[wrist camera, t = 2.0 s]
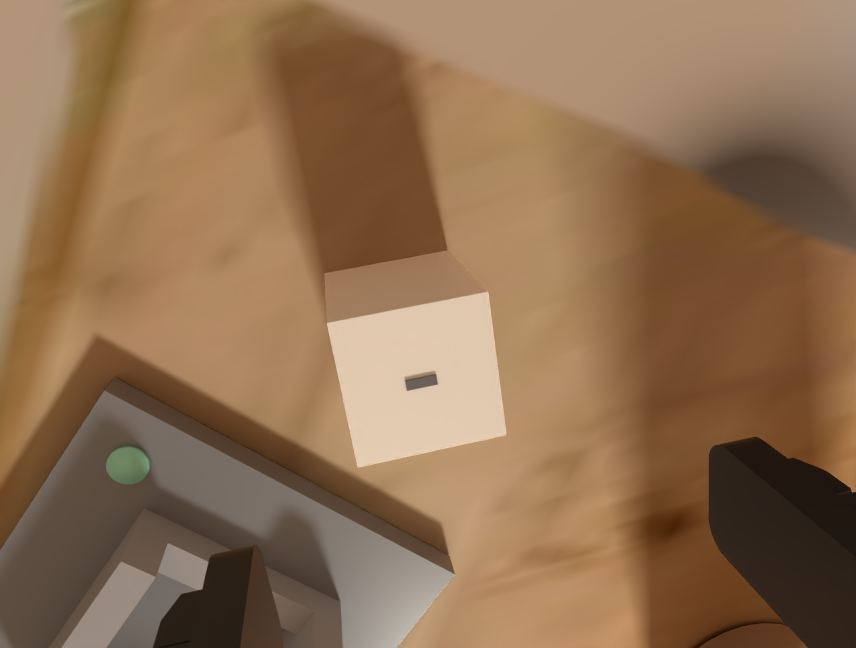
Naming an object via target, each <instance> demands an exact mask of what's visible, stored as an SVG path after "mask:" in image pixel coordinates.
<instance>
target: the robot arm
mask: <svg viewBox="0 0 856 648" xmlns="http://www.w3.org/2000/svg"><path fill="white" fill-rule="evenodd" d="M709 524H710V529H711V532H712V535H713V538H714V540H715V542H716V545H717V546H718V548H719V550H720V551H721V553H722V554H723V555H724V556H725V557H726V559H727V560H728V561H729V562H730V563H731V564H732V565H733V566H734V567H735V568H736V570H737V571H738V572H739V573H740V574H741V575H742V576H743V577H744V578H745V579H746V581H747V582H748V583H749V584H750V585H751V586H752V587H753V588H754V589H755V590H756V592H757V593H758V594H759V595H760V596H761V597H762V598H763V599H764V600H765V601H766V602H767V604H768V605H769V606H770V607H771V608H772V609H773V610H774V611H775V612H776V613H777V615H778V616H779V617H780V618H781V619H782V620H783V621H784V622H785V623H786V624H787V626H786V625H782V624H770V623H760V624H754V625H747V626H742V627H739V628H736V629H733V630H730V631H727V632H724V633H722V634H720V635H719V636H717V637H715V638H713V639H711V640H709V641H707V642H706V643H704V644H703V645H701V646H700V647H699V648H856V492H853V493H852V491H851V488H849V487H848V486H846V485H845V484H844V483H842V482H841V481H839V480H838V479H837V478H835V477H834V476H832V475H831V474H830V473H828V472H827V471H825V470H823V469H820V468H818V467H815V466H813V465H810V464H808V463H805V462H803V461H800V460H798V459H795V458H791V459H787V458H786V457H785V456H783V455H782V454H781V453H779V452H778V451H777V450H775V449H774V448H773V447H771V446H770V445H769V444H767V443H766V442H765V441H763V440H762V439H760V438H757V437H752V438H747V439H743V440H738V441H733V442H729V443H724V444H720V445H715V446H713V447H712V449H711V451H710V454H709ZM153 648H283V639H282V631H281V625H280V620H279V615H278V612H277V608H276V604H275V601H274V597H273V593H272V590H271V586H270V582H269V579H268V575H267V571H266V568H265V564H264V560H263V557H262V553H261V551H260V548H259V547H258V545H253V546H249V547H244V548H239V549H235V550H230V551H226V552H221V553H217V554H212V555H211V556H210V558H209V562H208V566H207V570H206V575H205V579H204V583H203V588H202V589H201V590H197V591H192V592H188V593H183V594H181V595H180V596H179V597H178V599H177V600H176V601H175V603H174V604H173V605H172V607H171V608H170V609H169V611H168V612H167V613H166V615H165V616H164V617H163V618H162V620H161V622H160V625H159V628H158V632H157V635H156V638H155V642H154V645H153Z"/></svg>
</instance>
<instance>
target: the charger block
mask: <svg viewBox="0 0 856 648" xmlns="http://www.w3.org/2000/svg"><path fill="white" fill-rule="evenodd" d="M324 280H325V298H326V316H327V326H328V331H329V335H330V340H331V345H332V349H333V354H334V359H335V364H336V368H337V373H338V378H339V382H340V387H341V392H342V396H343V401H344V406H345V410H346V415H347V420H348V425H349V429H350V434H351V439H352V443H353V448H354V453H355V457H356V462H357V467H363V466H367V465H372V464H377V463H381V462H386V461H390V460H395V459H399V458H404V457H409V456H413V455H418V454H422V453H427V452H431V451H436V450H441V449H445V448H450V447H454V446H459V445H463V444H468V443H473V442H477V441H482V440H486V439H491V438H495V437H500V436H505V435H506V427H505V420H504V412H503V404H502V396H501V388H500V381H499V373H498V365H497V357H496V349H495V341H494V334H493V326H492V318H491V310H490V302H489V294H488V291H487V290H486V289H485V288H484V287H483V286H482V285H481V284H480V283H479V282H478V281H477V280H476V279H475V278H474V277H473V276H472V275H471V274H470V273H469V272H468V271H467V270H466V269H465V268H464V267H463V266H462V265H461V263H460V262H459V261H458V260H457V259H456V258H455V257H454V256H453V255H452V254H451V253H450V252H449V251H448V250H447V251H441V252H436V253H431V254H425V255H420V256H415V257H409V258H404V259H398V260H393V261H388V262H382V263H377V264H372V265H366V266H361V267H356V268H350V269H345V270H339V271H334V272H329V273H324Z"/></svg>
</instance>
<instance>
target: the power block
mask: <svg viewBox="0 0 856 648" xmlns="http://www.w3.org/2000/svg"><path fill="white" fill-rule="evenodd" d="M253 545H258V547H259V548H260V551H261V553H262V557H263V560H264V564H265V568H266V571H267V575H268V579H269V582H270V586H271V590H272V593H273V597H274V601H275V604H276V608H277V612H278V615H279V620H280V625H281V631H282V639H283V648H397V647H398V645H399V644H400V643H401V642H402V640H403V639H404V638H405V637H406V635H407V634H408V633H409V632H410V630H411V629H412V628H413V627H414V625H415V624H416V623H417V622H418V620H419V619H420V618H421V617H422V615H423V614H424V613H425V612H426V610H427V609H428V608H429V606H430V605H431V604H432V603H433V601H434V600H435V599H436V598H437V596H438V595H439V594H440V593H441V591H442V590H443V589H444V588H445V586H446V585H447V584H448V583H449V581H450V580H451V579H452V578H453V576H454V575H455V573H454V570H453V566H452V563H451V560H450V556H449V555H447V554H445V553H443V552H441V551H439V550H437V549H436V548H434V547H432V546H430V545H428V544H426V543H424V542H422V541H421V540H419V539H417V538H415V537H413V536H411V535H409V534H407V533H406V532H404V531H402V530H400V529H398V528H396V527H394V526H392V525H391V524H389V523H387V522H385V521H383V520H381V519H379V518H377V517H376V516H374V515H372V514H370V513H368V512H366V511H364V510H362V509H361V508H359V507H357V506H355V505H353V504H351V503H349V502H347V501H346V500H344V499H342V498H340V497H338V496H336V495H334V494H333V493H331V492H329V491H327V490H325V489H323V488H321V487H319V486H318V485H316V484H314V483H312V482H310V481H308V480H306V479H304V478H303V477H301V476H299V475H297V474H295V473H293V472H291V471H289V470H288V469H286V468H284V467H282V466H280V465H278V464H276V463H274V462H273V461H271V460H269V459H267V458H265V457H263V456H261V455H259V454H258V453H256V452H254V451H252V450H250V449H248V448H246V447H244V446H243V445H241V444H239V443H237V442H235V441H233V440H231V439H229V438H228V437H226V436H224V435H222V434H220V433H218V432H216V431H214V430H213V429H211V428H209V427H207V426H205V425H203V424H201V423H199V422H198V421H196V420H194V419H192V418H190V417H188V416H186V415H184V414H183V413H181V412H179V411H177V410H175V409H173V408H171V407H169V406H168V405H166V404H164V403H162V402H160V401H158V400H156V399H154V398H153V397H151V396H149V395H147V394H145V393H143V392H141V391H139V390H138V389H136V388H134V387H132V386H130V385H128V384H126V383H124V382H123V381H121V380H119V379H117V378H115V377H114V378H113V380H112V381H111V382H110V384H109V385H108V386H107V388H106V389H105V390H104V392H103V393H102V395H101V396H100V398H99V399H98V401H97V402H96V404H95V405H94V407H93V408H92V410H91V412H90V413H89V415H88V416H87V418H86V419H85V421H84V422H83V424H82V425H81V427H80V428H79V430H78V432H77V433H76V435H75V436H74V438H73V439H72V441H71V442H70V444H69V445H68V447H67V448H66V450H65V452H64V453H63V455H62V456H61V458H60V459H59V461H58V462H57V464H56V465H55V467H54V468H53V470H52V472H51V473H50V475H49V476H48V478H47V479H46V481H45V482H44V484H43V485H42V487H41V488H40V490H39V492H38V493H37V495H36V496H35V498H34V499H33V501H32V502H31V504H30V505H29V507H28V508H27V510H26V511H25V513H24V515H23V516H22V518H21V519H20V521H19V522H18V524H17V525H16V527H15V528H14V530H13V531H12V533H11V535H10V536H9V538H8V539H7V541H6V542H5V544H4V545H3V547H2V548H1V550H0V648H153V645H154V642H155V638H156V635H157V632H158V628H159V625H160V622H161V620H162V618H163V617H164V616H165V615H166V613H167V612H168V611H169V609H170V608H171V607H172V605H173V604H174V603H175V601H176V600H177V599H178V597H179V596H180V595H181V594H183V593H188V592H192V591H197V590H201V589H202V588H203V583H204V579H205V575H206V570H207V566H208V562H209V558H210V556H211V555H212V554H217V553H221V552H226V551H230V550H235V549H239V548H244V547H249V546H253Z"/></svg>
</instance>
